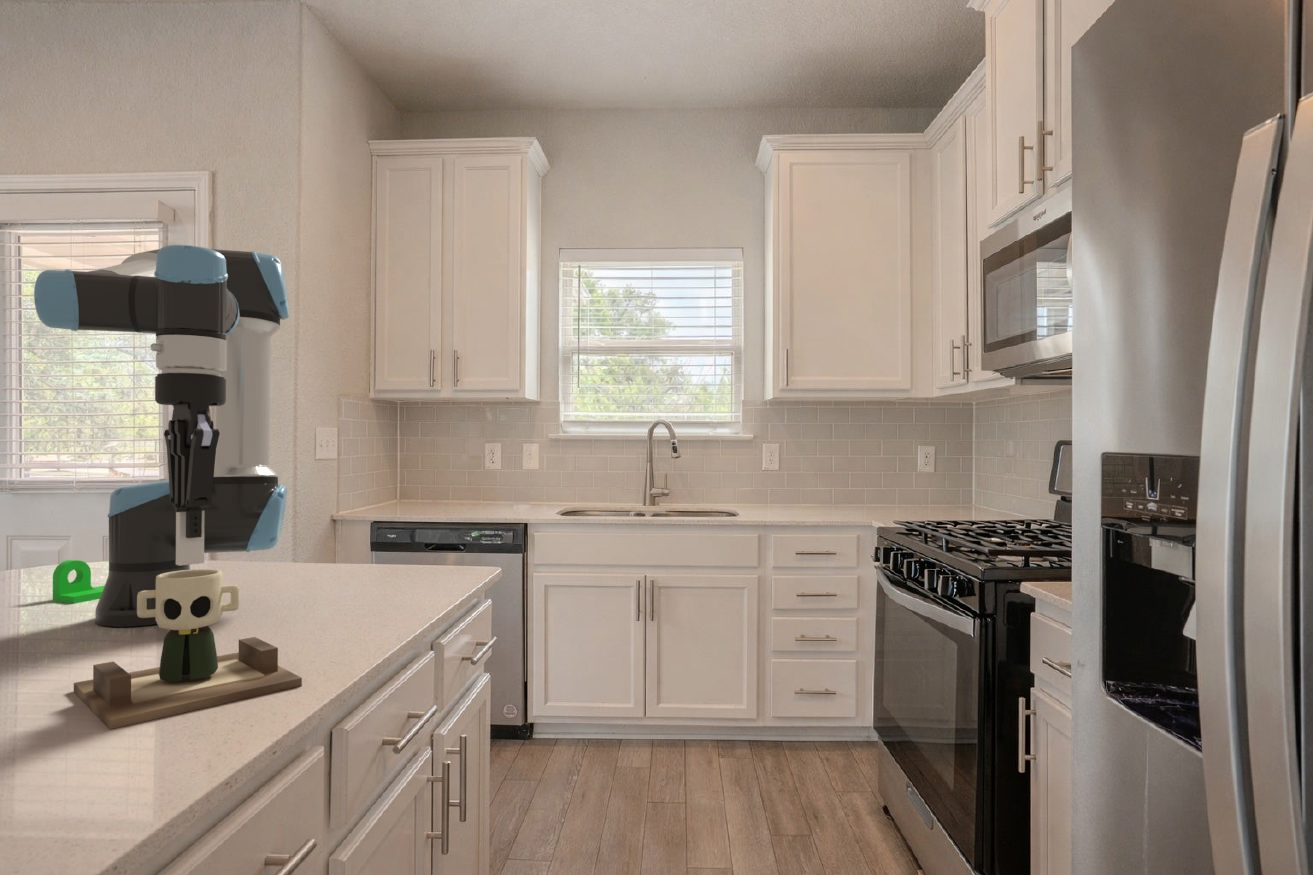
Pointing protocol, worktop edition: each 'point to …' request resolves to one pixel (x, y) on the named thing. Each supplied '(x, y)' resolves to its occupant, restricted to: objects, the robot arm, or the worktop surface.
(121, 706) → the seating jig
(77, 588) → the mechanical part
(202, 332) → the robot arm
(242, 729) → the worktop surface
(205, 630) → the character mug
